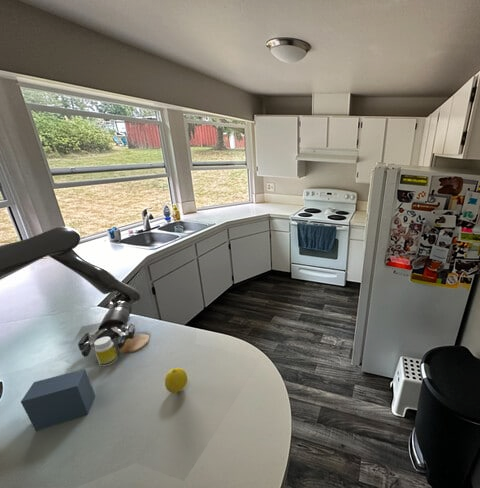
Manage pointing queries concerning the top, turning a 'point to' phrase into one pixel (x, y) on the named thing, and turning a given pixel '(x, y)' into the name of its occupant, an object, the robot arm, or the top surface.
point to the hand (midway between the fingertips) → (102, 350)
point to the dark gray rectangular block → (58, 399)
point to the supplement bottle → (105, 351)
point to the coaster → (135, 343)
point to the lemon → (175, 380)
